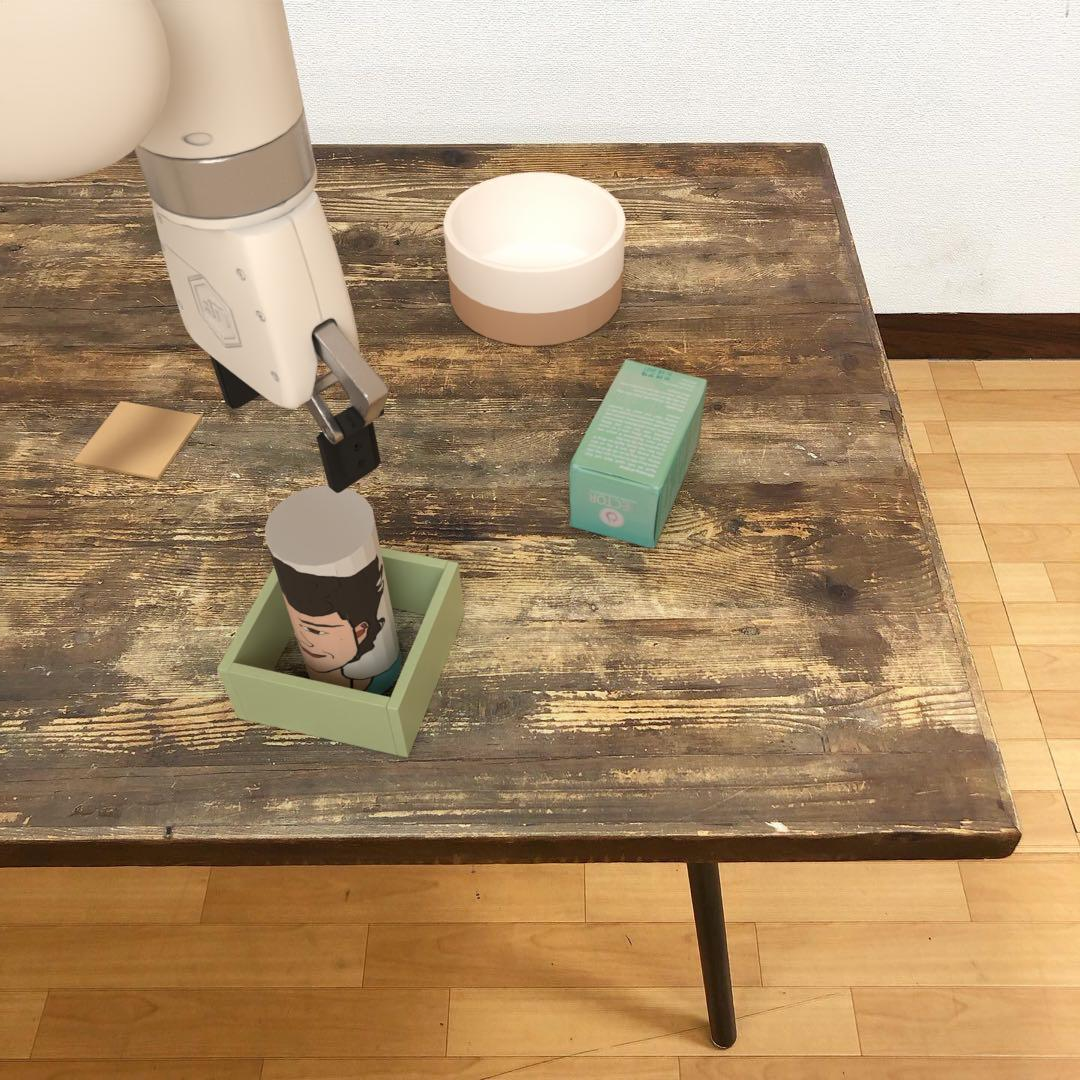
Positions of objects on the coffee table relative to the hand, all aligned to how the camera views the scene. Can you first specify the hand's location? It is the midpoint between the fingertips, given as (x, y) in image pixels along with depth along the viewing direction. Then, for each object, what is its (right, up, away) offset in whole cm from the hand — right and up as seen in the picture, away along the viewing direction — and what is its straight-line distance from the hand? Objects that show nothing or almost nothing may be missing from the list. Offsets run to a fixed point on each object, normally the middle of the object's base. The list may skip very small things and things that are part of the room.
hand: (301, 435), depth 61 cm
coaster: (-21, +3, +33) cm, 39 cm away
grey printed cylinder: (0, -15, +17) cm, 23 cm away
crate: (0, -15, +17) cm, 22 cm away
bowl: (+13, +19, +46) cm, 51 cm away
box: (+21, -2, +28) cm, 35 cm away
